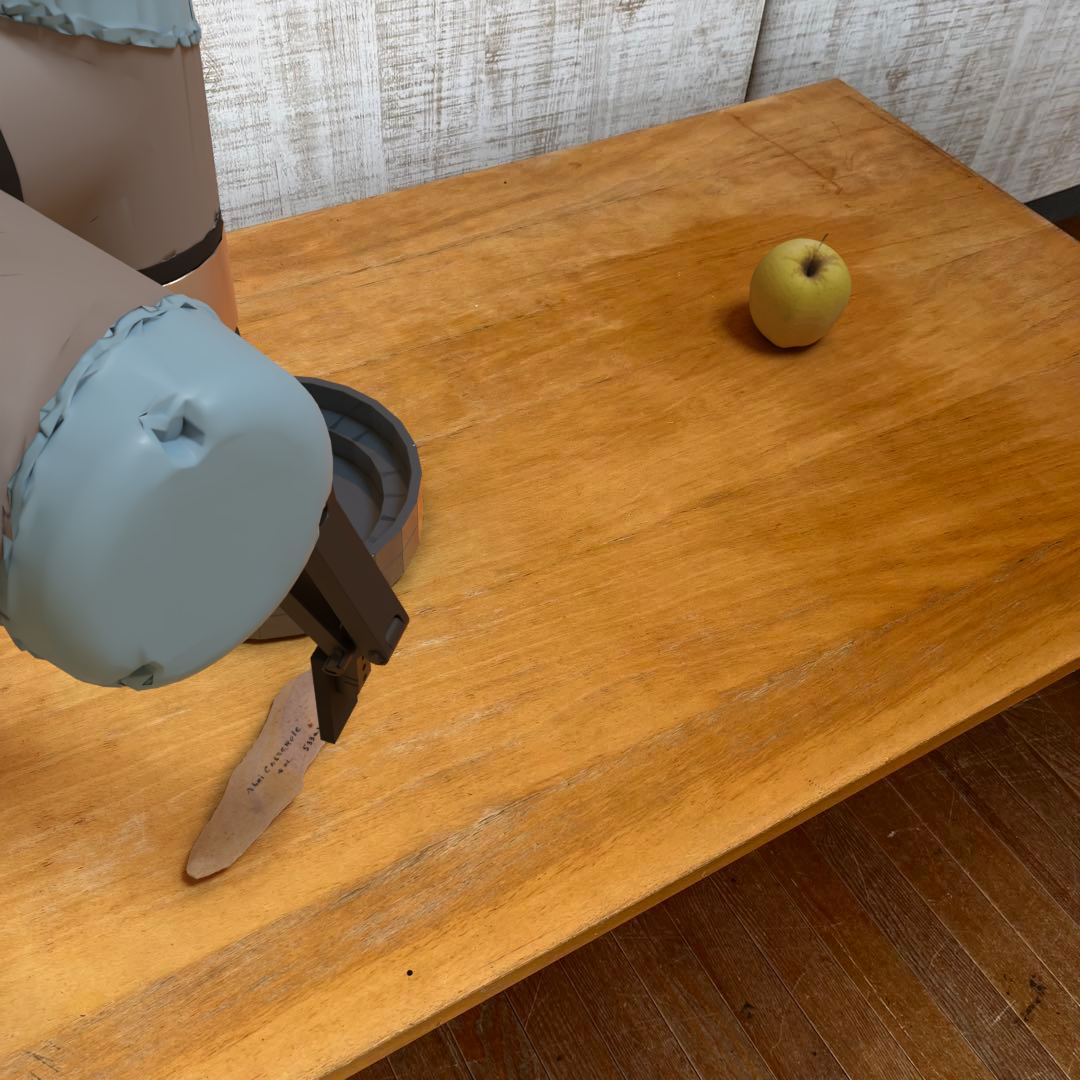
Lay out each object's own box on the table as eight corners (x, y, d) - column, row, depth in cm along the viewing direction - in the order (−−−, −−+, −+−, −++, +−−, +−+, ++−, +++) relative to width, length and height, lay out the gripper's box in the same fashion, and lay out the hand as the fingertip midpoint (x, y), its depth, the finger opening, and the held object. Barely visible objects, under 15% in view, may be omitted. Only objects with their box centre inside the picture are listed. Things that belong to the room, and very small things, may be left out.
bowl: (349, 682, 72) (343, 632, 69) (58, 593, 76) (38, 541, 72) (464, 467, 86) (464, 415, 82) (212, 399, 89) (202, 347, 85)
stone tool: (242, 903, 62) (376, 688, 71) (231, 887, 61) (369, 671, 70) (167, 879, 64) (307, 673, 73) (155, 863, 63) (299, 657, 72)
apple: (748, 280, 102) (805, 193, 94) (825, 330, 101) (889, 247, 93) (714, 328, 97) (772, 241, 89) (795, 382, 96) (860, 298, 89)
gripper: (-228, 312, 42) (-52, 665, 58) (412, 491, 38) (418, 820, 54) (-90, 210, 47) (38, 560, 63) (489, 359, 43) (474, 694, 59)
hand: (213, 681), depth 58 cm, fingers open, 13 cm apart
